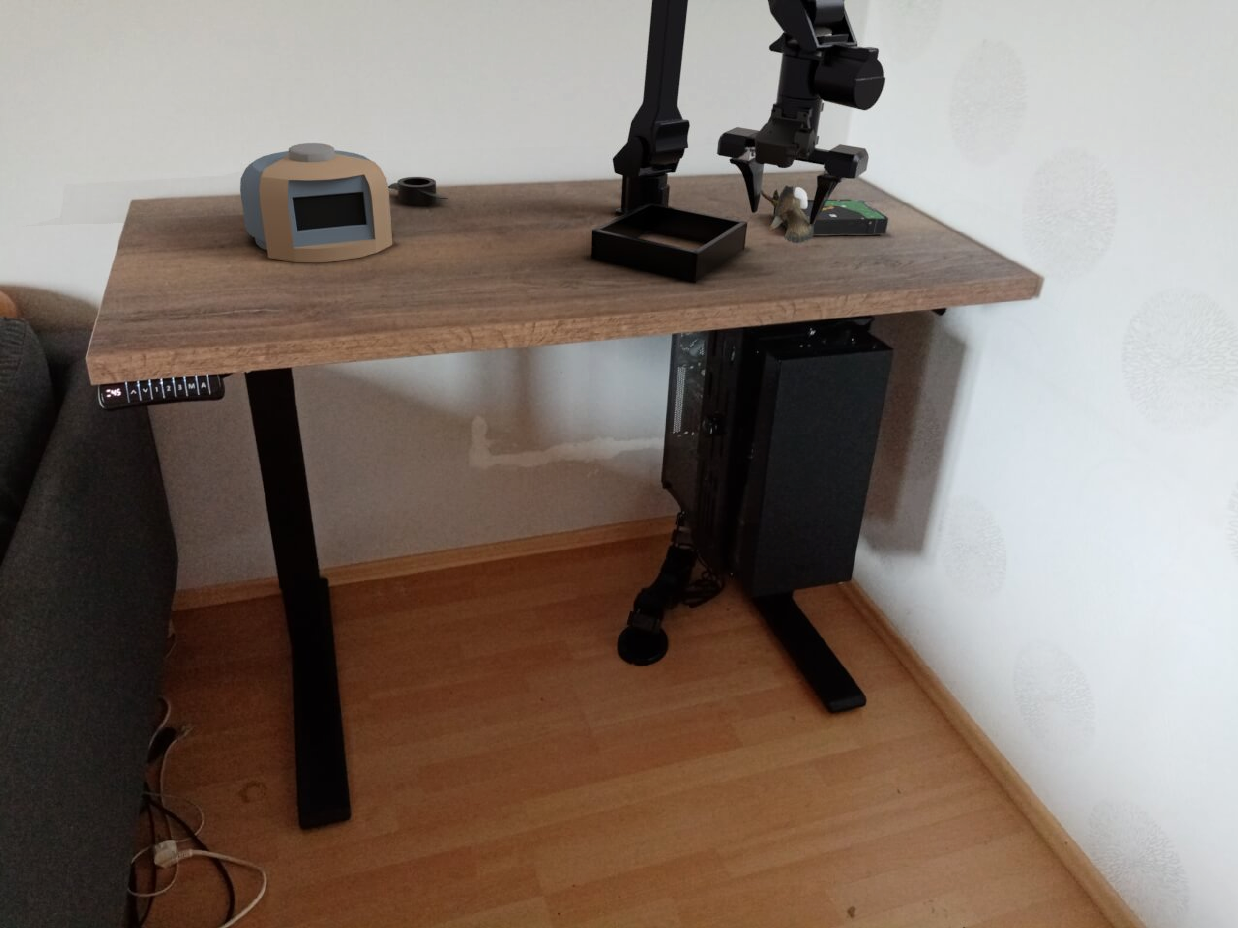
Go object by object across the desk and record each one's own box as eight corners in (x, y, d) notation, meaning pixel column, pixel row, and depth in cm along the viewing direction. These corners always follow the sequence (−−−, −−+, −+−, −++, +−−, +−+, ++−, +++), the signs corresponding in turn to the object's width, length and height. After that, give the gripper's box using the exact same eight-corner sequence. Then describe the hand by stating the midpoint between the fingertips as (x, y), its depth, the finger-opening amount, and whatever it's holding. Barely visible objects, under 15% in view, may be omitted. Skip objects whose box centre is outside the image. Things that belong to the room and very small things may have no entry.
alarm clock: (262, 269, 122) (248, 171, 116) (235, 223, 137) (222, 134, 131) (411, 252, 130) (405, 160, 124) (370, 211, 145) (363, 127, 139)
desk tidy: (590, 259, 132) (591, 230, 130) (646, 229, 144) (648, 202, 142) (695, 283, 126) (697, 253, 124) (744, 249, 138) (747, 222, 136)
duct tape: (434, 190, 156) (433, 172, 155) (450, 208, 149) (450, 188, 147) (385, 193, 154) (384, 175, 152) (400, 211, 146) (399, 192, 144)
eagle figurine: (742, 213, 133) (761, 221, 125) (772, 168, 132) (794, 173, 123) (784, 244, 136) (806, 254, 127) (815, 200, 134) (839, 207, 126)
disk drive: (794, 238, 145) (887, 235, 147) (796, 219, 143) (890, 217, 146) (771, 217, 153) (859, 215, 156) (773, 199, 152) (862, 197, 155)
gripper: (705, 93, 120) (693, 219, 128) (853, 116, 112) (830, 247, 120) (740, 81, 128) (727, 200, 136) (879, 102, 121) (857, 225, 129)
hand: (782, 218), depth 130 cm, fingers closed on eagle figurine, 8 cm apart
